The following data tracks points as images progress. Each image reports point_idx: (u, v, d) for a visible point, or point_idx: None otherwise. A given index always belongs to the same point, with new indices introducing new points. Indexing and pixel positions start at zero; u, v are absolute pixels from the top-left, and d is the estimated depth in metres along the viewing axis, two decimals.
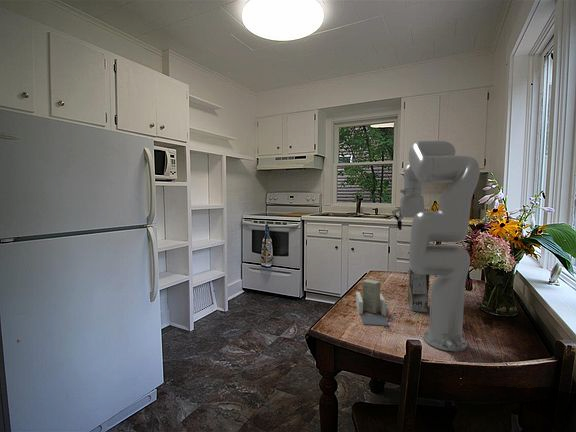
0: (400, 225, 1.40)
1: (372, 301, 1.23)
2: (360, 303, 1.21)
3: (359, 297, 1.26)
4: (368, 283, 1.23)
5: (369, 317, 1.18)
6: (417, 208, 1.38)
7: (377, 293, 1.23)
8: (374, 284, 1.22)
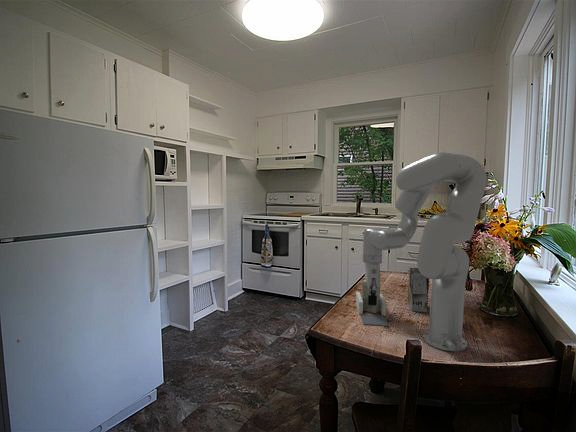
0: (376, 300, 1.21)
1: None
2: (360, 303, 1.21)
3: (359, 297, 1.26)
4: None
5: (369, 317, 1.18)
6: None
7: (377, 293, 1.23)
8: None
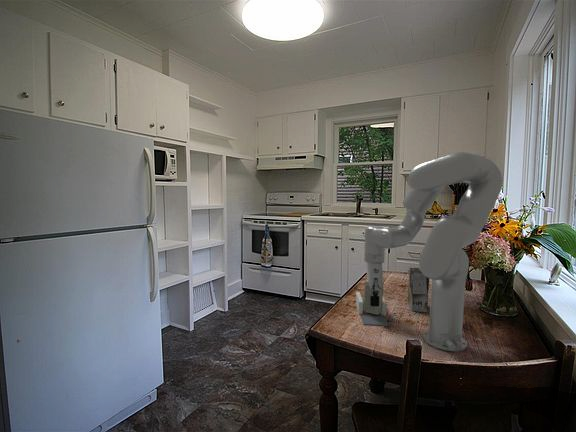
0: None
1: None
2: (360, 303, 1.21)
3: (359, 297, 1.26)
4: None
5: (369, 317, 1.18)
6: None
7: (380, 294, 1.19)
8: None
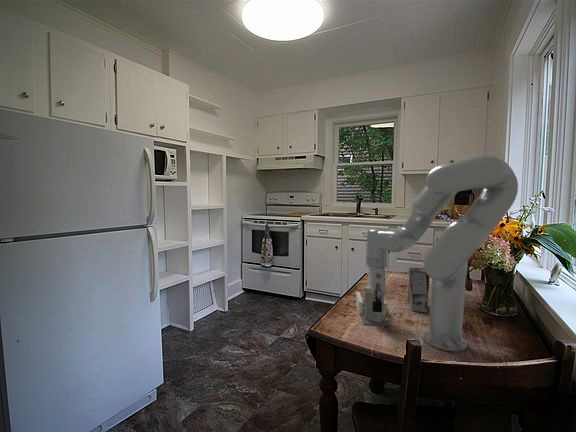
0: (381, 306, 1.10)
1: None
2: (360, 303, 1.21)
3: (359, 297, 1.26)
4: None
5: None
6: None
7: None
8: None
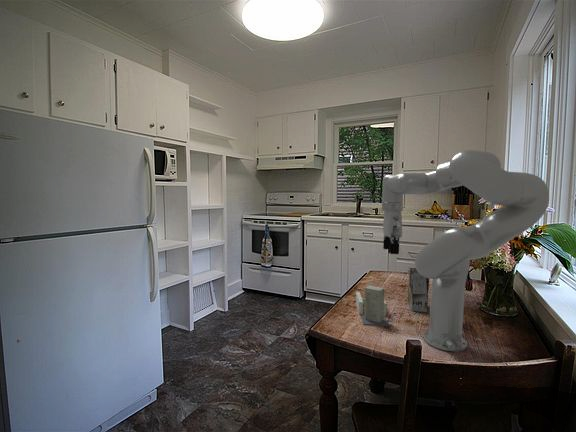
0: (398, 248, 1.14)
1: (376, 309, 1.13)
2: (360, 303, 1.21)
3: (359, 297, 1.26)
4: (371, 290, 1.13)
5: None
6: None
7: (381, 301, 1.13)
8: (378, 291, 1.12)
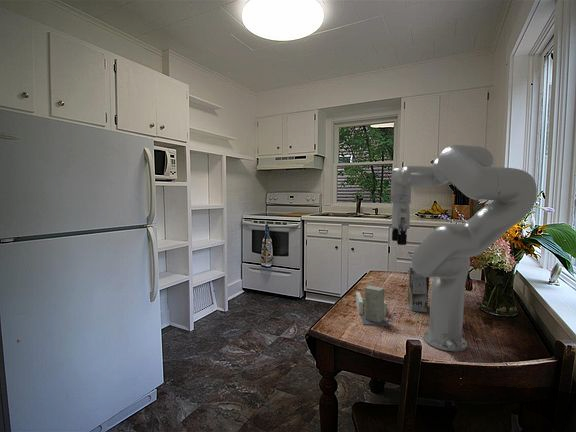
0: (406, 239, 1.17)
1: (376, 309, 1.13)
2: (360, 303, 1.21)
3: (359, 297, 1.26)
4: (371, 290, 1.13)
5: None
6: None
7: (381, 301, 1.13)
8: (378, 291, 1.12)
